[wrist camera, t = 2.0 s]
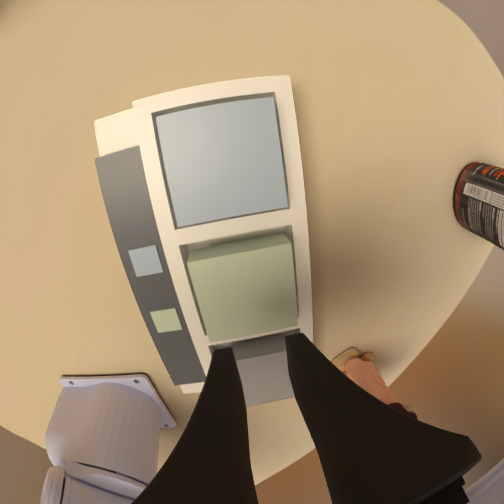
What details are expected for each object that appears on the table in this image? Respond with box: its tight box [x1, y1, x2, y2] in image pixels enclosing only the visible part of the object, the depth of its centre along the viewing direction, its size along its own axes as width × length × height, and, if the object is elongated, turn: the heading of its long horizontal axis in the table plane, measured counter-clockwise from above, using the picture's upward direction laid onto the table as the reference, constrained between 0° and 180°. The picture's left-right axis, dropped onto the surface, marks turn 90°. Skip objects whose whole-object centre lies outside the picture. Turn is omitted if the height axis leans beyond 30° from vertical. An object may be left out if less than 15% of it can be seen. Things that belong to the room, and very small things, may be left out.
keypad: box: [94, 75, 313, 394], centre depth 16 cm, size 10×20×3 cm, turn 8°
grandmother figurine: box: [332, 348, 417, 419], centre depth 17 cm, size 8×4×13 cm, turn 69°
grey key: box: [216, 333, 295, 407], centre depth 17 cm, size 5×5×1 cm
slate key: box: [156, 97, 288, 227], centre depth 12 cm, size 5×5×1 cm
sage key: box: [187, 233, 298, 343], centre depth 14 cm, size 5×5×1 cm
